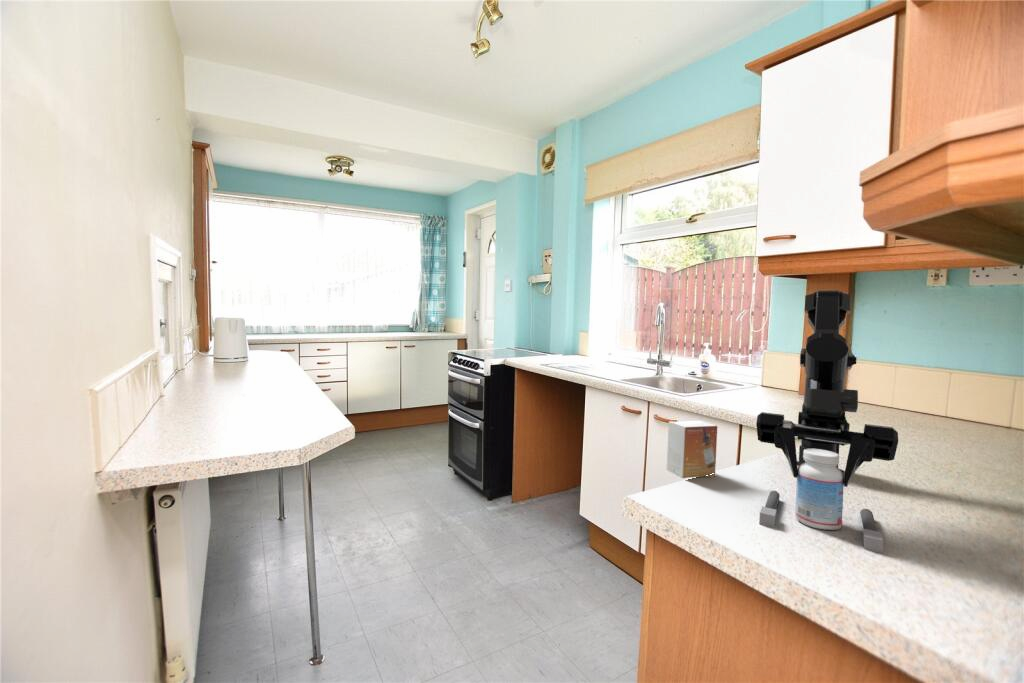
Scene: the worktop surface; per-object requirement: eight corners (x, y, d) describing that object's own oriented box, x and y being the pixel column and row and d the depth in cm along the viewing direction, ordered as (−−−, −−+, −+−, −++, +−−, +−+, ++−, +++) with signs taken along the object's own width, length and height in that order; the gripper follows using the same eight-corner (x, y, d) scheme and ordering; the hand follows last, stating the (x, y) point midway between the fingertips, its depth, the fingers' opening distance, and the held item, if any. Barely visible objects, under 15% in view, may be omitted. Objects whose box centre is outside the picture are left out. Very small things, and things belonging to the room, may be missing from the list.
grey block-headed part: (858, 516, 74) (859, 506, 74) (874, 520, 73) (874, 509, 73) (864, 549, 63) (865, 536, 63) (882, 553, 62) (883, 540, 62)
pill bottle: (849, 533, 68) (853, 459, 67) (804, 529, 69) (808, 456, 69) (830, 516, 74) (833, 448, 73) (788, 512, 75) (792, 445, 75)
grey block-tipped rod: (767, 498, 81) (768, 488, 81) (780, 500, 80) (781, 490, 80) (759, 523, 71) (760, 512, 71) (774, 527, 69) (774, 516, 69)
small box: (682, 479, 90) (684, 427, 90) (665, 470, 96) (667, 420, 95) (716, 476, 92) (718, 425, 92) (698, 467, 98) (700, 419, 97)
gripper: (760, 366, 79) (748, 441, 70) (900, 375, 68) (907, 465, 60) (763, 404, 86) (752, 478, 77) (891, 418, 75) (895, 505, 67)
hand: (819, 480), depth 70 cm, fingers closed on pill bottle, 6 cm apart
